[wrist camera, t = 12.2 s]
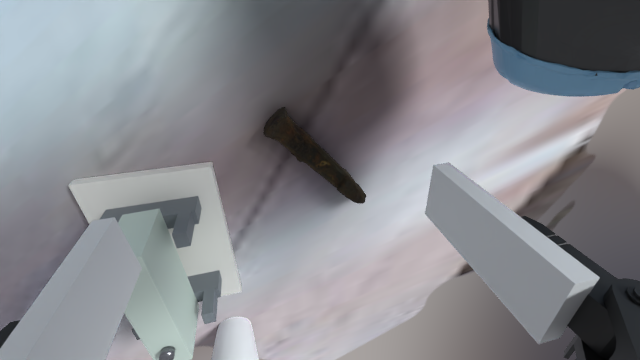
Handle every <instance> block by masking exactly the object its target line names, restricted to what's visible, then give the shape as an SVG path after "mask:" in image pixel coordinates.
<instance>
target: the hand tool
mask: <svg viewBox="0 0 640 360" xmlns="http://www.w3.org/2000/svg"><path fill="white" fill-rule="evenodd" d="M264 135H265V136H266V137H270V138H272V139H275V140H277V141H279V142H280V143H281V144H283V145H284V146H285V147H286V148H287V149H289V150H290V151H291V153H292V154H293V155H295V156H296V158H297V160H298V161H300V162H305V163H306V164H307V165H309V166H310V167H311V168H312V169H313V170H315V171H316V172H317V173H319V174H320V175H321V176H322V177H324V178H325V179H326V180H327V181H329V182H330V183H331V184H332V185H333V186H335V187H336V188H337V190H338V191H339V192H340V193H342V194H343V195H344V196H346V197H347V198H348V199H350V200H352V201H353V202H356V203H364V202H365V198H366V194H365V193H364V192H363V190H362V189H361V187H360V186H359V185H358V184H357V183H356V182H355V181H354V180H353V178H352V177H351V176H350V174H349V173H348V172H347V171H346V170H345V169H344V168H342V167H341V166H340V165H339V164H338V163H337V162H336V161H335V160H334V159H333V158H332V157H331V156H330V155H329V154H328V153H327V152H326V151H325V150H324V149H322V148H321V147H320V146H319V145H318V144H317V143H316V142H315V141H314V140H313V139H312V138H311V136H310V135H308V134H307V133H306V132H305V131H304V130H303V129H302V128H300V127H299V126H298V125H297V124H296V123H294V122H293V121H292V120H291V118H289V117H288V115H287V111H286V109H285V107H282V108H281V109H279V110H278V111H277V112H276V113H275V114H274V115H273V116H272V117H271V118H270V119H269V120H268V122H267V123H266V125H265V127H264Z"/></svg>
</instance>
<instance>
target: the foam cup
mask: <svg viewBox="0 0 640 360" xmlns="http://www.w3.org/2000/svg"><path fill="white" fill-rule="evenodd" d="M211 360H259V358H258V353H257V348H256V343H255V338H254V333H253V328H252V324H251V321H250V320H248V319H247V318H245V317H239V316H238V317H231V318H228V319H226V320H224V321H223V322H222V323H220V324H219V326H218V329H217V333H216V338H215V343H214V348H213V354H212V358H211Z"/></svg>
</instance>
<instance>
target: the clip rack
mask: <svg viewBox="0 0 640 360" xmlns="http://www.w3.org/2000/svg"><path fill="white" fill-rule="evenodd" d="M68 186H69V188H70V190H71V192H72V193H73V195H74V197H75V199H76V201H77V203H78V204H79V206H80V208H81V210H82V212H83V214H84V215H85V217H86V219H87V221H88V223H89V225H90V223H91V222H92V221H94V220H100V219H106V218H113V217H115V219H116V221H117V222H119V220H120V218H121V216H122V215H124V214H130V213H136V212H142V211H147V210H153V209H159V208H160V211H161V213H162V216H163V218H164V221H165V223H166V226H167V228H168V231H169V233H170V235H171V238H172V240H173V243H174V245H175V248H176V250H177V253H178V255H179V258H180V260H181V262H182V265H183V267H184V270H185V272H186V275H187V277H188V280H189V282H190V285H191V287H192V289H193V292H194V294H195V297H196V299H197V302H200V301H203V304H202V313H201V315H202V318H203V321H204V323H205V324H207V323H211V322H215V321H216V314H217V298H218V297H221V296H226V295H231V294H235V293H240V292H242V285H241V281H240V276H239V272H238V268H237V264H236V260H235V255H234V251H233V247H232V243H231V239H230V235H229V230H228V226H227V222H226V218H225V214H224V209H223V205H222V201H221V197H220V193H219V189H218V184H217V180H216V176H215V172H214V168H213V163H212V162H205V163H198V164H190V165H182V166H174V167H166V168H159V169H151V170H143V171H135V172H127V173H119V174H112V175H104V176H96V177H88V178H80V179H74V180H73V181H72V182H71V183H70V184H69V185H68ZM132 332H133V334H134V335H135V337H136V339H137V340H139V339H140V338H139V336H138V334H137V333H136V331H135V330H134V328H133V329H132Z"/></svg>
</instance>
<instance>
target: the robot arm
mask: <svg viewBox="0 0 640 360" xmlns="http://www.w3.org/2000/svg"><path fill="white" fill-rule="evenodd" d="M488 2H489V18H488V23H487V27H488V28H487V30H488V34H489V36H490V38H491V43H492V53H493V61H494V65H495V67H496V69H497V71H498V72H499V74H500V75H502V76H503V77H504V78H506V79H508V80H509V82H510V83H512V84H514V85H516V86H518V87H521V88H523V89H526V90H530V91H533V92H537V93H542V94H549V95H558V96H598V95H607V94H614V93H618V92H619V91H620V90H621V89H622V88H626V89H636V88H639V87H640V0H488ZM425 214H426V215H427V217H428V218H429V219H430V220H431V221H432V222H433V224H434V225H435V226H436V227H437V228H438V229H439V230H440V232H441V233H442V234H443V235H444V236H445V237H446V238H447V240H448V241H449V242H450V243H451V244H452V245H453V246H454V248H455V249H456V250H457V251H458V252H459V253H460V255H461V256H462V257H463V258H464V259H465V260H466V261H467V263H468V264H469V265H470V266H471V267H472V268H473V269H474V271H475V272H476V273H477V274H478V275H479V276H480V277H481V279H482V280H483V281H484V282H485V283H486V284H487V285H488V287H489V288H490V289H491V290H492V291H493V292H494V294H495V295H496V296H497V297H498V298H499V299H500V301H501V302H502V303H503V304H504V305H505V306H506V307H507V309H508V310H509V311H510V312H511V313H512V314H513V315H514V317H515V318H516V319H517V320H518V321H519V322H520V323H521V325H522V326H523V327H524V328H525V329H526V330H527V332H528V333H529V334H530V335H531V336H532V337H533V338H534V340H535V341H536V342H537V343H538V344H541V343H544V342H548V341H551V340H554V339H558V338H560V337H561V336H562V334H563V332H564V331H565V329H566V328H567V326H569V328H571V329H572V330H573V331H574V332H575V333H576V336H575V337H574V338H573V340H572V341H571V343H570V344H569V345H568V347H567V348H566V350H565V351H564V358H567V359H568V358H569V357H570V356H571V355H572V353H573V352H574V351H575V353H576V359H575V360H640V281H637V280H632V279H617V278H616V277H614V276H613V275H611V274H610V273H608V272H607V271H606V270H604V269H603V268H602V267H600V266H599V265H598V264H596V263H595V262H593V261H592V260H591V259H589V258H588V257H587V256H585V255H584V254H582V253H581V252H580V251H578V250H577V249H576V248H574V247H573V246H571V245H570V244H567V242H566V241H565V240H563V239H562V238H560V237H559V236H556V235H555V233H554V232H552V231H551V230H550V229H548V228H547V227H545V226H544V225H543V224H541V223H539V222H537V221H535V220H532V219H530V218H528V217H526V216H523V217H520V216H518V215H517V214H516V213H515V212H513V211H512V210H511V209H509V208H508V207H507V206H505V205H504V204H503V203H501V202H500V201H499V200H497V199H496V198H495V197H494V196H492V195H491V194H490V193H488V192H487V191H486V190H484V189H483V188H482V187H480V186H479V185H478V184H476V183H475V182H474V181H473V180H471V179H470V178H469V177H467V176H466V175H465V174H463V173H462V172H461V171H459V170H458V169H457V168H455V167H454V166H453V165H451V164H450V163H443V164H437V165H433V170H432V176H431V182H430V188H429V194H428V200H427V206H426V211H425ZM141 269H142V267H141V265H140V263H139V261H138V260H137V258H136V256H135V254H134V252H133V250H132V248H131V247H130V245H129V243H128V241H127V239H126V237H125V235H124V234H123V232H122V230H121V228H120V226H119V224H118V222H117V221H116V219H115V217H113V218H106V219H100V220H94V221H92V222H91V223H90V225H89V226H88V227H87V229H86V230H85V232H84V233H83V234H82V236H81V237H80V239H79V240H78V241H77V243H76V244H75V245H74V247H73V248H72V250H71V251H70V252H69V254H68V255H67V257H66V258H65V259H64V261H63V262H62V264H61V265H60V266H59V268H58V269H57V270H56V272H55V273H54V275H53V276H52V277H51V279H50V280H49V282H48V283H47V284H46V286H45V287H44V288H43V290H42V291H41V293H40V294H39V295H38V297H37V298H36V300H35V301H34V302H33V304H32V305H31V307H30V308H29V309H28V311H27V312H26V313H25V315H24V316H23V318H22V319H21V320H19V321H14V322H10V323H9V324H8V325H7V326H6V327H4V328H3V329H2V330H1V331H0V360H106V357H107V355H108V352H109V350H110V347H111V345H112V342H113V340H114V337H115V335H116V332H117V330H118V327H119V325H120V322H121V320H122V317H123V315H124V312H125V309H126V307H127V304H128V302H129V299H130V297H131V294H132V292H133V289H134V287H135V284H136V282H137V279H138V277H139V274H140V272H141Z"/></svg>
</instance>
